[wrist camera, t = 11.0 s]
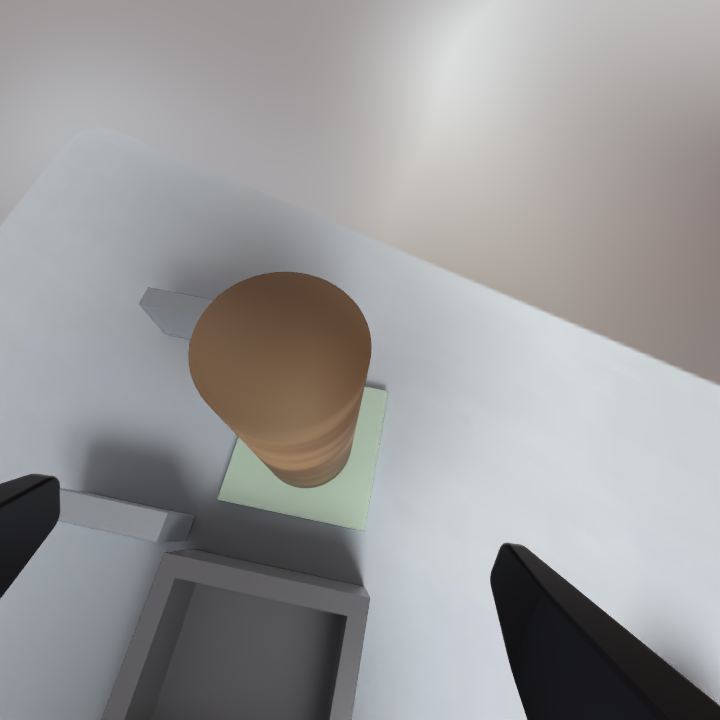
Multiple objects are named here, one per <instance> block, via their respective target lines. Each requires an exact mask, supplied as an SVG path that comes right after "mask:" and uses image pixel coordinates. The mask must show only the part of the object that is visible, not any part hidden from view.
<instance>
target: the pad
mask: <svg viewBox="0 0 720 720" xmlns="http://www.w3.org/2000/svg"><path fill="white" fill-rule="evenodd" d="M387 396H388V391H385V390H380V389H375V388H370V387H364V392H363V397H362V401H361V406H360V411H359V415H358V420H357V425H356V430H355V434H354V439H353V444H352V448H351V453H350V456H349V459H348V461H347V464H346V465H345V467H344V468H343V470H342V471H341V472H340V473H339V474H338V475H337V476H336V477H335V478H334V479H333V480H331V481H330V482H328V483H326V484H324V485H321V486H318V487H314V488H298V487H294V486H291V485H288V484H286V483H284V482H283V481H281V480H280V479H279V478H277V477H276V476H275V475H274V474H273V473H272V472H271V470H270V469H269V468H268V467H267V466H266V465H265V464H264V463H263V462H262V461H261V460H260V459H259V458H258V457H257V456H256V455H255V454H254V453H253V452H252V450H251V449H250V448H249V447H248V446H247V445H246V444H245V443H244V442H243V441H242V440H241V439H240V438H239V437H238V440H237V443H236V446H235V449H234V452H233V455H232V458H231V460H230V463H229V466H228V469H227V472H226V475H225V478H224V481H223V484H222V487H221V490H220V493H219V496H218V499H217V500H221V501H226V502H231V503H235V504H240V505H245V506H249V507H254V508H259V509H263V510H268V511H272V512H277V513H282V514H286V515H291V516H296V517H300V518H305V519H310V520H314V521H319V522H324V523H328V524H333V525H338V526H342V527H347V528H351V529H356V530H361V531H364V530H365V525H366V519H367V513H368V507H369V501H370V495H371V489H372V484H373V478H374V472H375V466H376V460H377V454H378V449H379V443H380V437H381V431H382V425H383V419H384V414H385V408H386V402H387Z"/></svg>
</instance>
